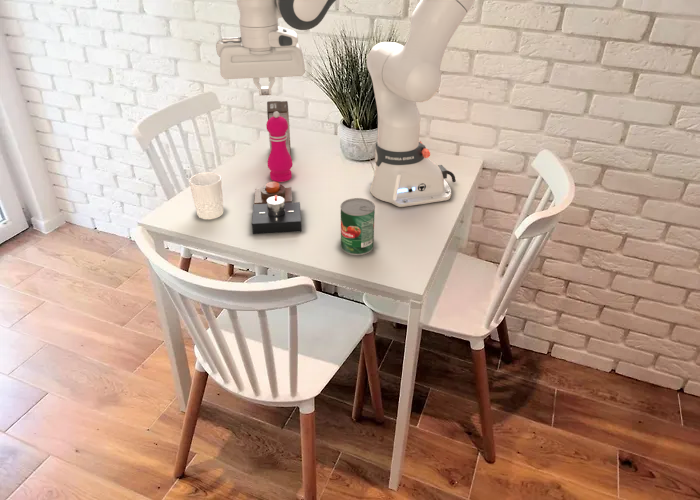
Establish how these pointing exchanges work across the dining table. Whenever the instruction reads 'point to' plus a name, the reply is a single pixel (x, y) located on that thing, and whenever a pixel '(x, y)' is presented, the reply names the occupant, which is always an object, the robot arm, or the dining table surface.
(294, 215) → the hob panel
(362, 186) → the dining table surface
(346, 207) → the canned tomato
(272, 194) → the button box
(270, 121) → the pepper mill
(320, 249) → the dining table surface
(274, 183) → the button
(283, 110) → the coffee box
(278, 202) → the hob knob
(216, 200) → the white cup
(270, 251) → the dining table surface
